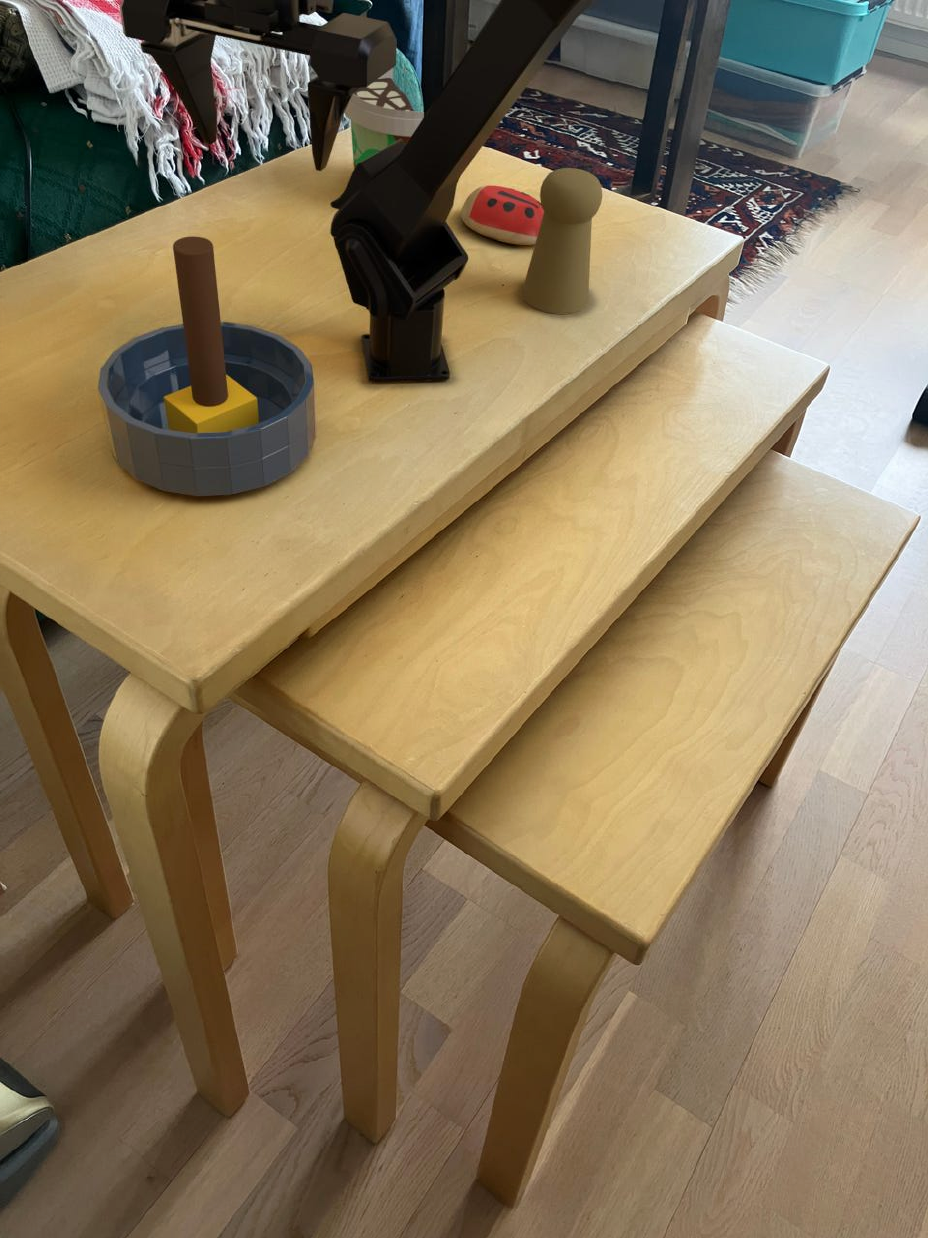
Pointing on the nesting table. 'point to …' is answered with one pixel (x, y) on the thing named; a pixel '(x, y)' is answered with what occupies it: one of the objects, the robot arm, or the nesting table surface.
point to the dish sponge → (205, 351)
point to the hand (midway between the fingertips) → (265, 155)
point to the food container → (380, 117)
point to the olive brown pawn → (563, 242)
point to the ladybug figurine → (503, 214)
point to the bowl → (219, 457)
